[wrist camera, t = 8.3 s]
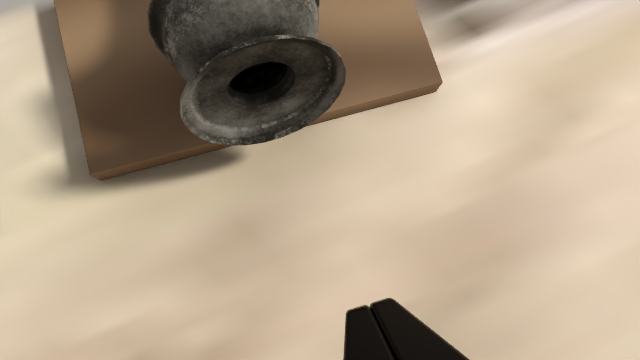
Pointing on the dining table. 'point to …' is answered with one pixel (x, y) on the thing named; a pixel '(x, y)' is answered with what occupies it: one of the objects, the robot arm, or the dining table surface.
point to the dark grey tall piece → (247, 66)
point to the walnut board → (168, 85)
